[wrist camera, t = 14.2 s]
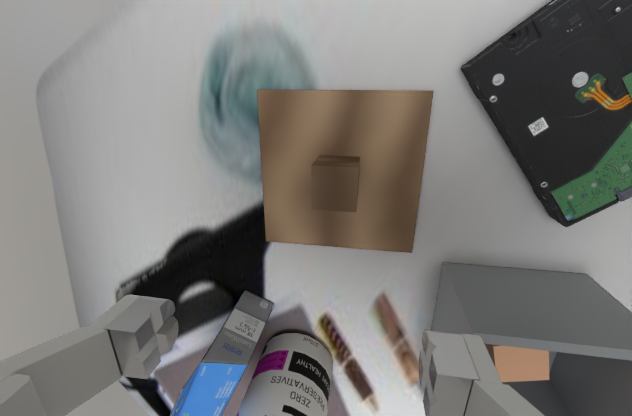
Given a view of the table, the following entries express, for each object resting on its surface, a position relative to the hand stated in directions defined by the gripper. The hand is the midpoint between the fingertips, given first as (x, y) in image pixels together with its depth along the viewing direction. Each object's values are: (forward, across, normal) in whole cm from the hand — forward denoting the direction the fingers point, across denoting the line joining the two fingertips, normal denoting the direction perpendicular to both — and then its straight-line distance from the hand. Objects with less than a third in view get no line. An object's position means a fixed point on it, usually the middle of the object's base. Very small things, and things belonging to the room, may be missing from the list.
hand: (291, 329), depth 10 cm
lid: (+20, 0, 0) cm, 20 cm away
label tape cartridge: (+19, +10, +18) cm, 28 cm away
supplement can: (+19, +4, +22) cm, 29 cm away
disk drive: (+20, -17, -6) cm, 27 cm away
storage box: (+19, -16, +14) cm, 28 cm away
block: (+18, -16, +14) cm, 28 cm away
